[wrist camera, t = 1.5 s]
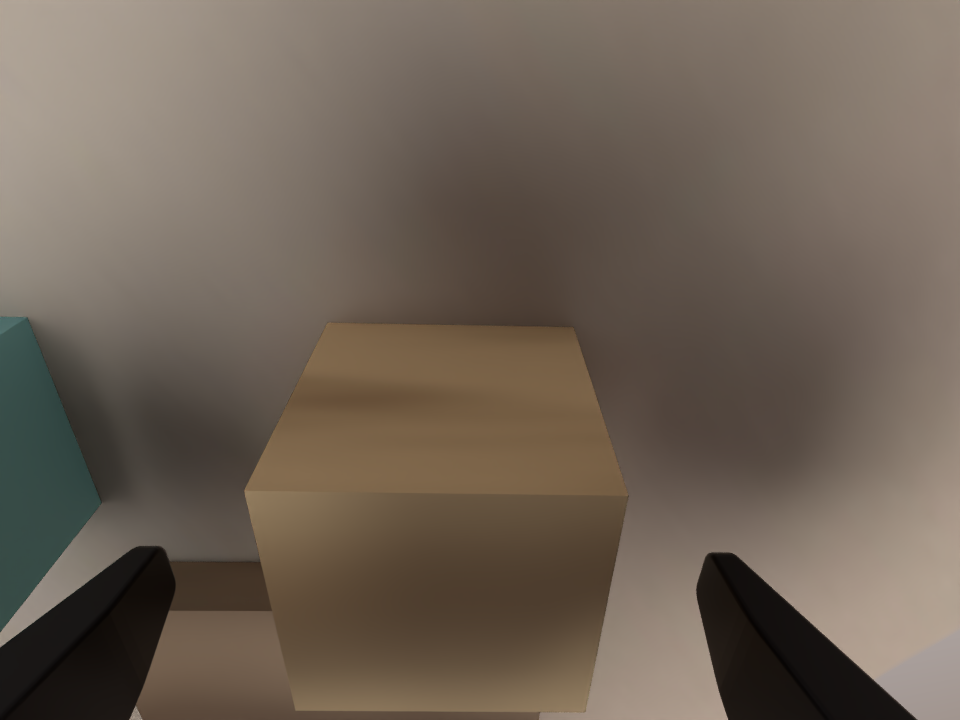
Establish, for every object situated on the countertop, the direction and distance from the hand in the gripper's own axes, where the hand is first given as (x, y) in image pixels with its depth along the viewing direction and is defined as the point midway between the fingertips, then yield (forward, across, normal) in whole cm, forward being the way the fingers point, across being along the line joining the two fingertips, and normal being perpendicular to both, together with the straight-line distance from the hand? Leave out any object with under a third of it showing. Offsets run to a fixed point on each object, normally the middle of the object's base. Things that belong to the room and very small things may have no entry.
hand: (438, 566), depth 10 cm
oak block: (+4, 0, 0) cm, 4 cm away
